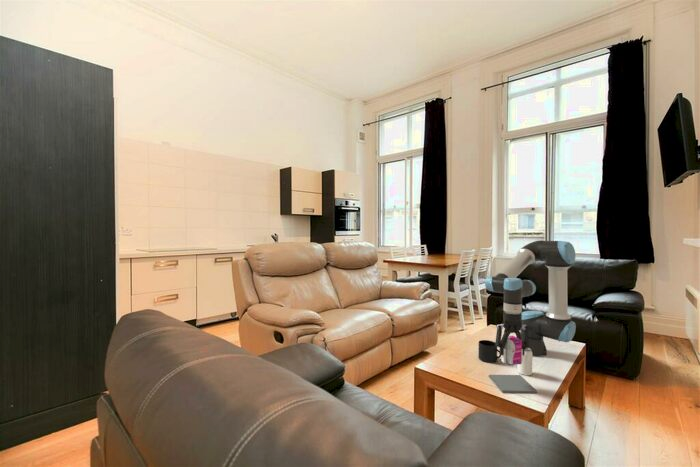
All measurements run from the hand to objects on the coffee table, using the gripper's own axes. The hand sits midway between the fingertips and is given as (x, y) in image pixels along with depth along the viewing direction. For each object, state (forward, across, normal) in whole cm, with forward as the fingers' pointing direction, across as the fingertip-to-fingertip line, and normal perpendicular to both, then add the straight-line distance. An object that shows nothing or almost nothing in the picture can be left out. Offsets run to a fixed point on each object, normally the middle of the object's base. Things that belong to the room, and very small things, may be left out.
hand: (511, 361), depth 149 cm
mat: (+10, 0, 0) cm, 10 cm away
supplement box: (+1, 0, 0) cm, 1 cm away
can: (+11, +12, +12) cm, 20 cm away
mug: (+11, +1, +27) cm, 29 cm away
